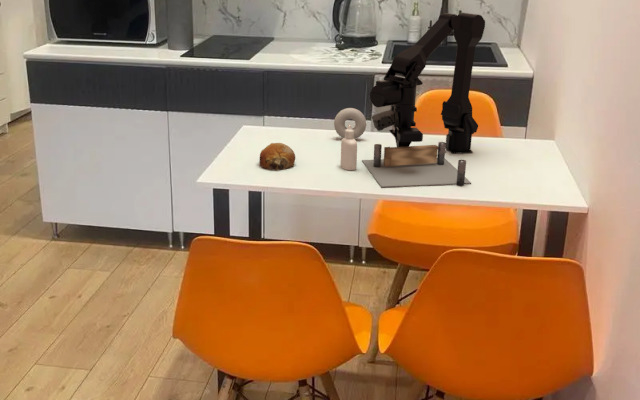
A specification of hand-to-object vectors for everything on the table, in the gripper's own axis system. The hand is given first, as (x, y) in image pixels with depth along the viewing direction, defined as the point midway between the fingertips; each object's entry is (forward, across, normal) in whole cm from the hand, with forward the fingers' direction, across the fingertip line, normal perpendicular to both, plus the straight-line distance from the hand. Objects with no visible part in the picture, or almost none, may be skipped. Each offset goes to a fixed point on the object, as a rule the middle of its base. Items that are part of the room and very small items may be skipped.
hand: (400, 157), depth 200 cm
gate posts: (+2, +10, +2) cm, 11 cm away
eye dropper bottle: (+2, +1, -15) cm, 15 cm away
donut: (+3, -26, -9) cm, 27 cm away
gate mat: (+2, +7, +2) cm, 8 cm away
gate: (+1, +3, +2) cm, 4 cm away
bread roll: (+3, -3, -34) cm, 34 cm away
